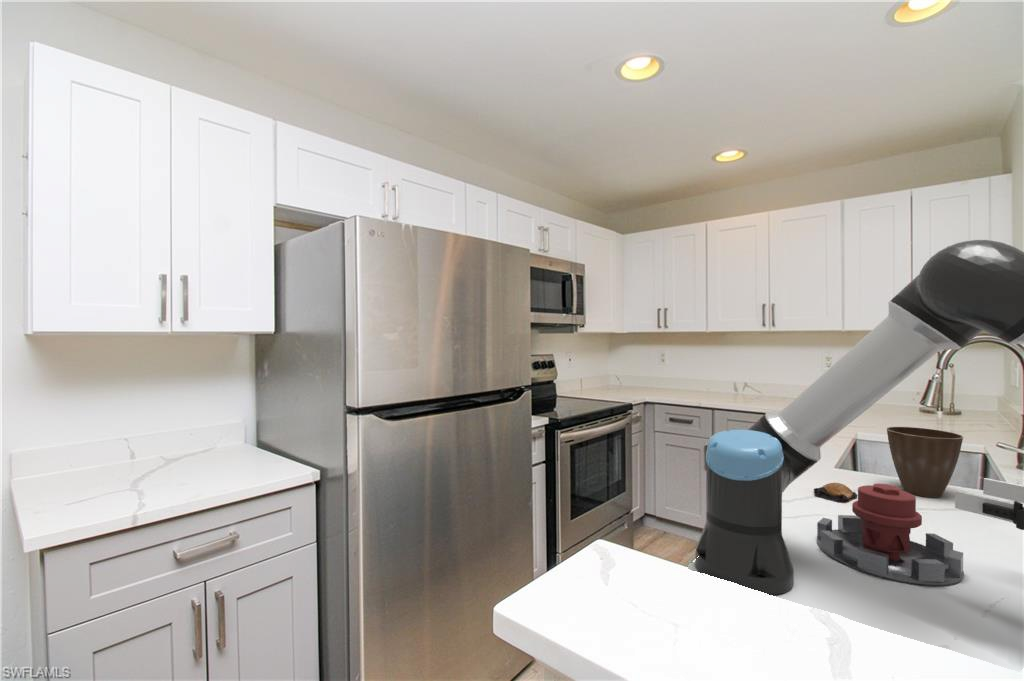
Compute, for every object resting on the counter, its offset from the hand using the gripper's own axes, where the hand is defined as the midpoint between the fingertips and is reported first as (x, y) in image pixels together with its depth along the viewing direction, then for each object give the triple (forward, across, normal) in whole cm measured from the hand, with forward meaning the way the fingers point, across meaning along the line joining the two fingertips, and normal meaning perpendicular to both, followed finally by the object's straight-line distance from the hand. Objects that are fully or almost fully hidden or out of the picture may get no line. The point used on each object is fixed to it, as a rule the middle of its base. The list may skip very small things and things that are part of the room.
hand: (970, 492), depth 78 cm
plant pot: (+21, +48, -15) cm, 55 cm away
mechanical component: (+10, -3, -14) cm, 18 cm away
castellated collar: (+11, -2, -15) cm, 18 cm away
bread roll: (+32, +27, -16) cm, 44 cm away
